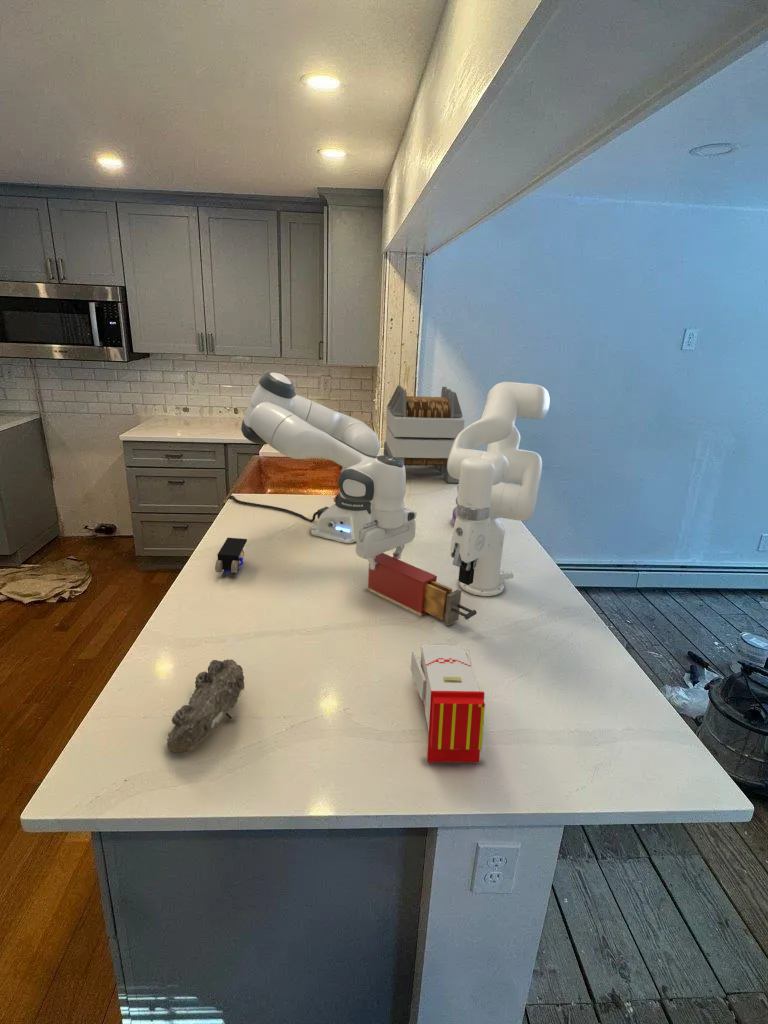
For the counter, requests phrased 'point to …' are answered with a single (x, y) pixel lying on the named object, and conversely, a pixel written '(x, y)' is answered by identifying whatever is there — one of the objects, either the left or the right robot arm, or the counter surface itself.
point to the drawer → (444, 603)
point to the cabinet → (399, 583)
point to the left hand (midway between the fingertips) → (385, 563)
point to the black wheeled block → (230, 556)
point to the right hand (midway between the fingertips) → (465, 582)
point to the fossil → (206, 705)
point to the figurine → (455, 509)
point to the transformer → (423, 429)
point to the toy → (450, 703)
